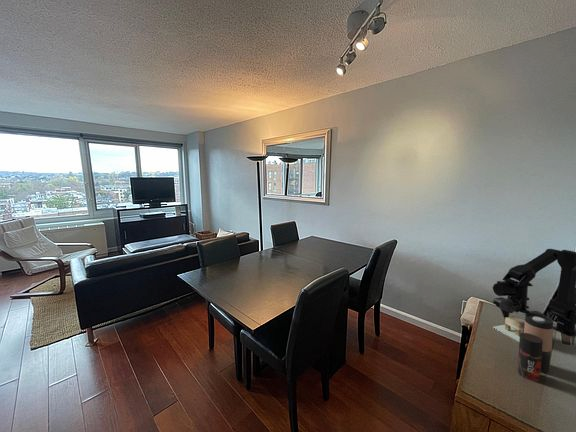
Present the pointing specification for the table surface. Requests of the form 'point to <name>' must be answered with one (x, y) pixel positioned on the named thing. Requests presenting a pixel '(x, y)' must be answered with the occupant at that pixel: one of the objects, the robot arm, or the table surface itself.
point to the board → (508, 332)
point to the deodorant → (530, 356)
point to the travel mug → (541, 335)
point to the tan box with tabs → (514, 324)
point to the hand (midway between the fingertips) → (516, 325)
